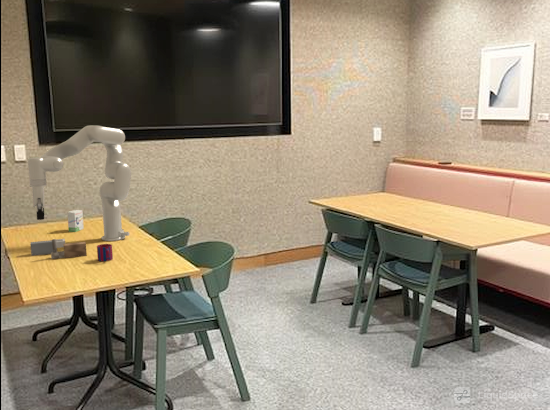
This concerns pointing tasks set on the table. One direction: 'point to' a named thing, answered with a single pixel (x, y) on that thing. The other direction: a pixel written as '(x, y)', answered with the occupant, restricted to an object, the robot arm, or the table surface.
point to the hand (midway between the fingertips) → (40, 217)
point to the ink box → (75, 220)
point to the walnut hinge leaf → (69, 250)
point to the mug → (104, 252)
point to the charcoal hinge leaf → (45, 246)
